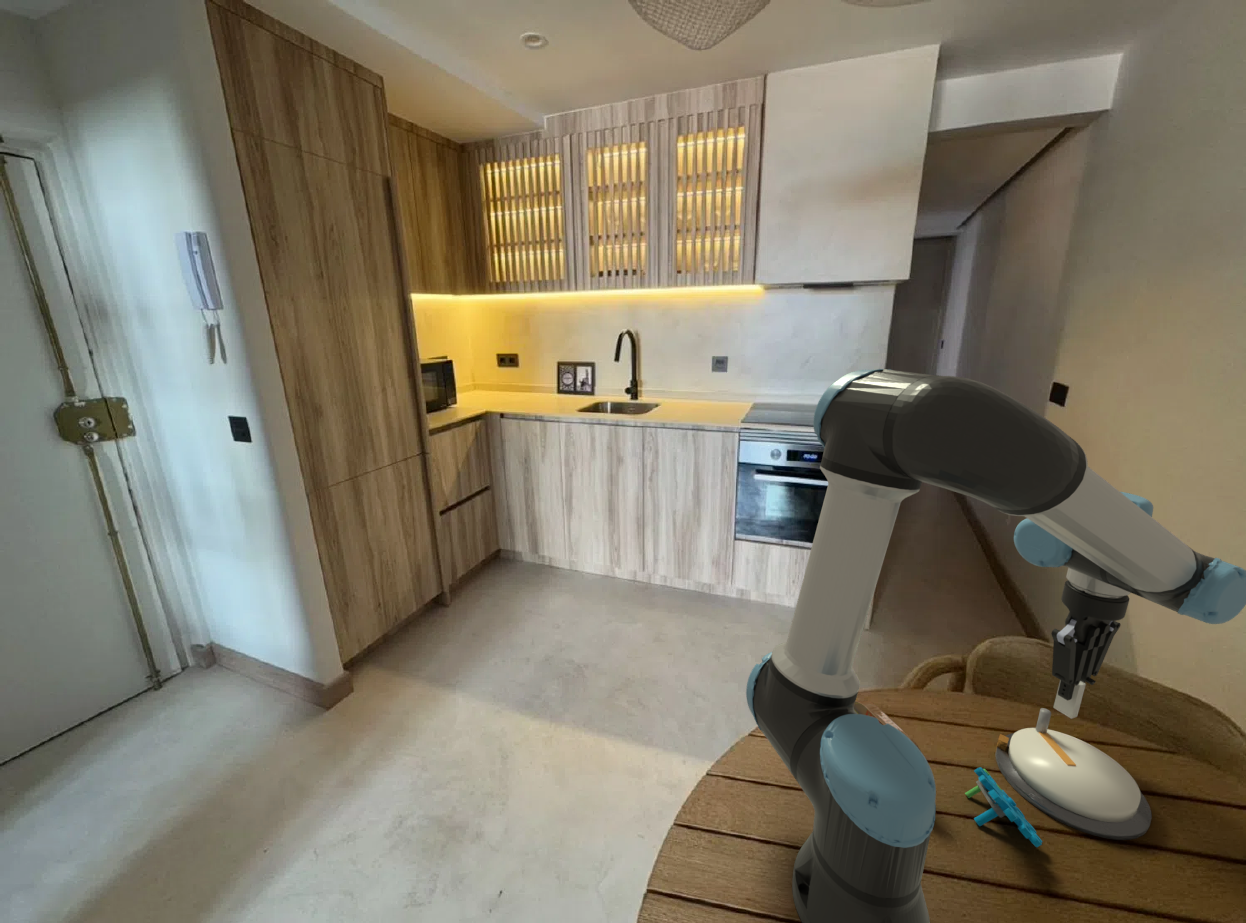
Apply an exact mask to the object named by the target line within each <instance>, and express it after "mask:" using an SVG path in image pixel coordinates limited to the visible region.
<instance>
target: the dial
mask: <svg viewBox="0 0 1246 923" xmlns="http://www.w3.org/2000/svg"><path fill="white" fill-rule="evenodd" d="M1051 716H1052V712H1051V711H1050V710H1049V709H1047V708H1043V707H1040V709H1039V714H1038V717H1037V718H1038V719H1037V722H1036V726H1035V727H1027V728H1021V729H1019V730H1017V731H1015V732H1014V734H1013V736H1012V738H1011V741H1010V745H1009V751H1008V755H1009V759H1010V762H1011V764H1012V766H1013V767H1014V769H1015V770H1016V772H1017V773H1018V774H1019V775H1020V777H1021V778H1022V779H1023V780H1024V781H1025V782H1026V783H1027V784H1029V785H1030V786H1031V787H1032V788H1033V789H1034V790H1036V791H1037V792H1038V793H1040V794H1041V795H1043V796H1044V797H1045V798H1047V799H1049V800H1050V801H1052V802H1054V803H1055V804H1057V805H1059V806H1061V807H1063V808H1065V809H1067V810H1069V811H1071V812H1073V813H1076V814H1079V815H1081V816H1084V817H1087V818H1091V819H1094V820H1099V821H1105V822H1123V821H1127V820H1129V819H1131V818H1133V816H1134V815H1135V814H1136V812H1137V809H1138V806H1139V803H1140V799H1141V794H1140V792H1141V790H1140V788H1139V785H1138V783H1137V781H1136V780H1135V779H1134V777H1132V775H1131V774H1130V773H1129V771H1127V770H1126V769H1125V768H1124V767H1123V766H1122V765H1121V764H1120V763H1119V762H1118V761H1116V760H1115V759H1114V758H1112V757H1111V756H1109V755H1108V754H1106V753H1105V752H1103V751H1102V750H1100V749H1099V748H1097V747H1095V746H1094V745H1091V744H1089V743H1088V742H1086V741H1084V740H1081V739H1079V738H1076V737H1074V736H1072V735H1069V734H1067V733H1063V732H1060V731H1057V730H1053V729H1049V724H1050V721H1051Z"/></svg>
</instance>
